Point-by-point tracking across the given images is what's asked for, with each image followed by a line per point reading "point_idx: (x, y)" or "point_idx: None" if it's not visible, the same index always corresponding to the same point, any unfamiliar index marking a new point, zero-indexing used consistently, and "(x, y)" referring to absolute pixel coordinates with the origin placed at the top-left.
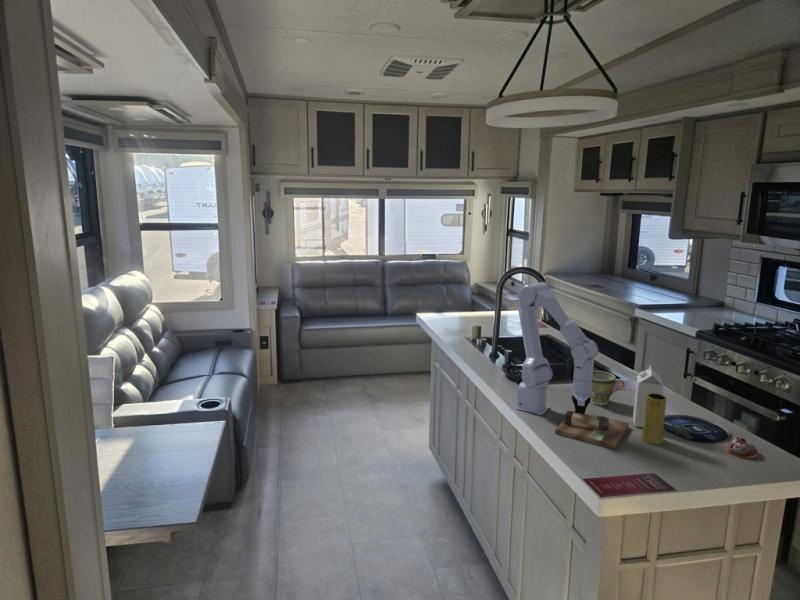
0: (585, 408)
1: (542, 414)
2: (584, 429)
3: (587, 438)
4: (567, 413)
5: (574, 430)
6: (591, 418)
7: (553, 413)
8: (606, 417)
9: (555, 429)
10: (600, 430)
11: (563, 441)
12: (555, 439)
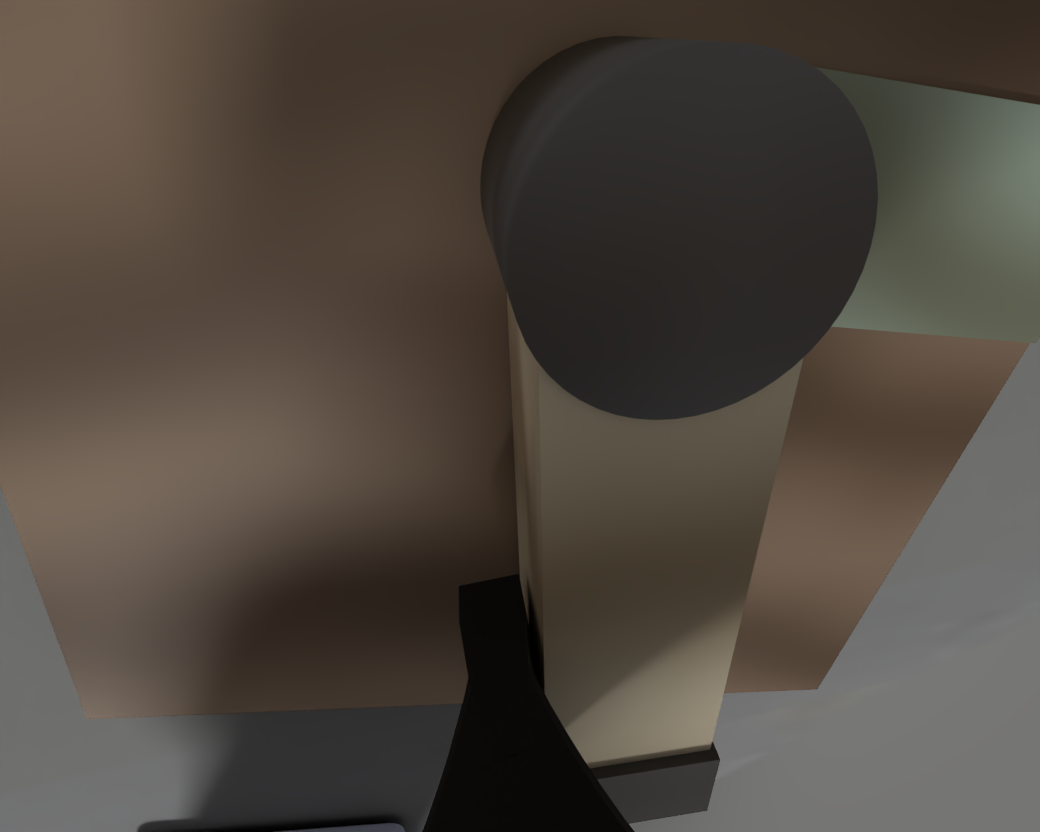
0: (599, 788)
1: (395, 827)
2: None
3: (1010, 346)
4: (652, 809)
5: (809, 543)
6: (718, 502)
7: (265, 778)
8: (549, 164)
9: (816, 686)
10: None
11: (961, 543)
12: (921, 606)
